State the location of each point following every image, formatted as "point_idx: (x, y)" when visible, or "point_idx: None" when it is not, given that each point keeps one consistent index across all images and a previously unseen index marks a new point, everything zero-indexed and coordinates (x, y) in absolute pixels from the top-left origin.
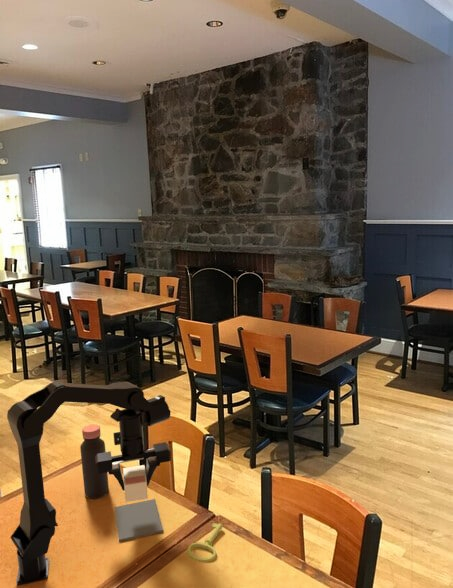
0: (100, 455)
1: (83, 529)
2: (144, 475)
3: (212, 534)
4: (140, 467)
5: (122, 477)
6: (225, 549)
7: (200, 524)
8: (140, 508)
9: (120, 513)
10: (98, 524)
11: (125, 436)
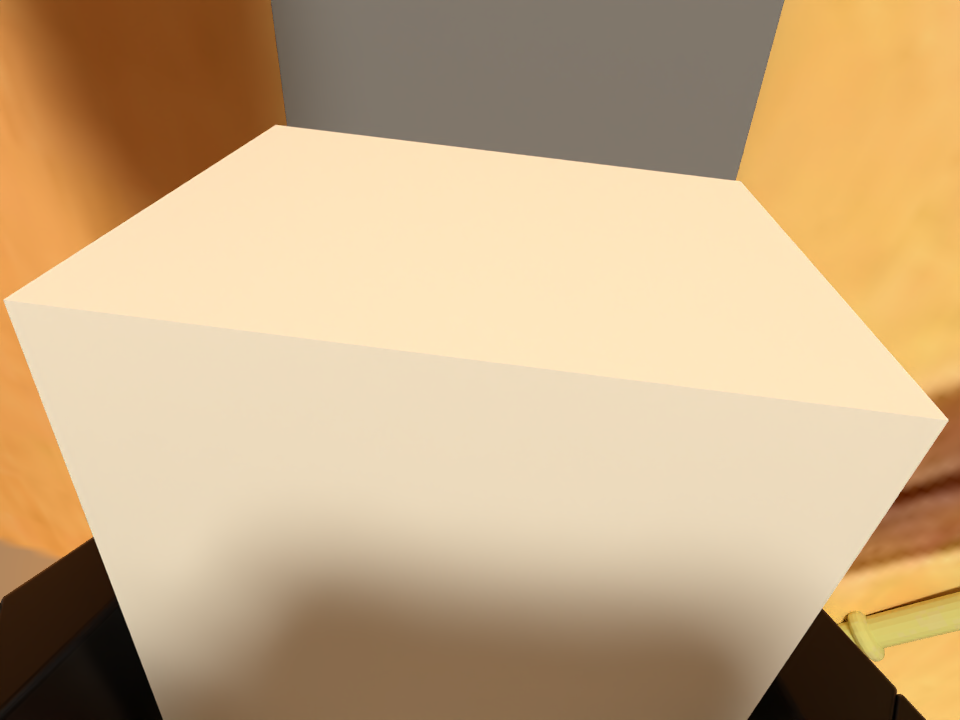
0: None
1: (5, 164)
2: None
3: (934, 630)
4: (709, 503)
5: (127, 687)
6: (917, 670)
7: (954, 473)
8: (561, 84)
9: (332, 87)
10: (129, 144)
11: None
